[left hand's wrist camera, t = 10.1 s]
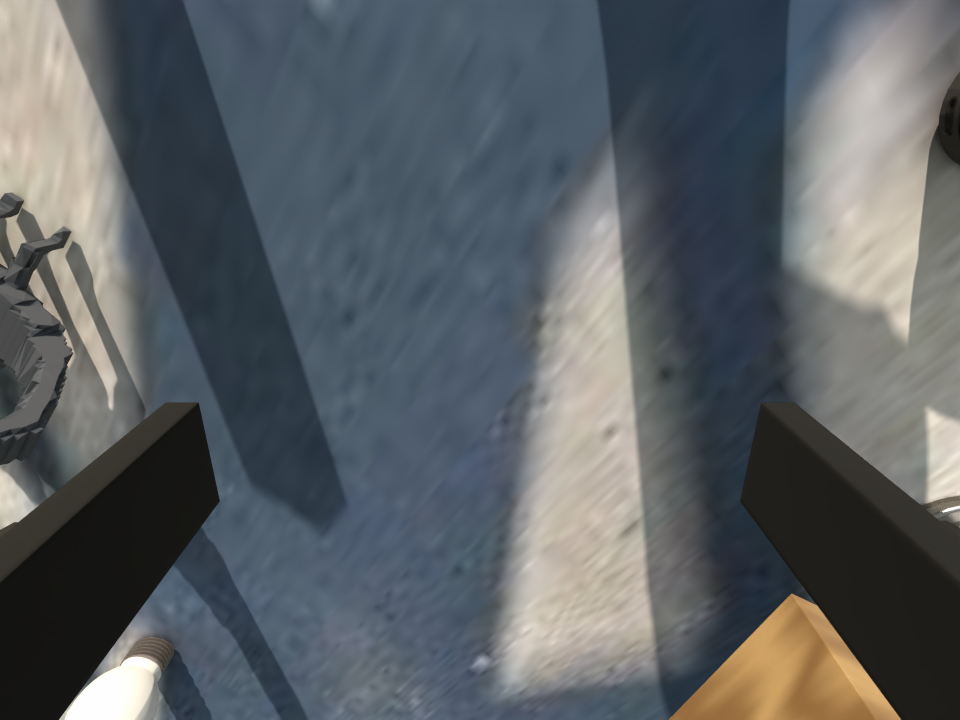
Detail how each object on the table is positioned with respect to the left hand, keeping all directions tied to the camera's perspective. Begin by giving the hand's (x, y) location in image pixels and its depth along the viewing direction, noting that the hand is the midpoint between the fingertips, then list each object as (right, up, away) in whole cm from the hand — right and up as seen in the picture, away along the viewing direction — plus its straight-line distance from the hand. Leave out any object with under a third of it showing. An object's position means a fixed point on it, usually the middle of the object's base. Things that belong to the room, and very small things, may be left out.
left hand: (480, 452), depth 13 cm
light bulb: (-33, -27, +41) cm, 59 cm away
